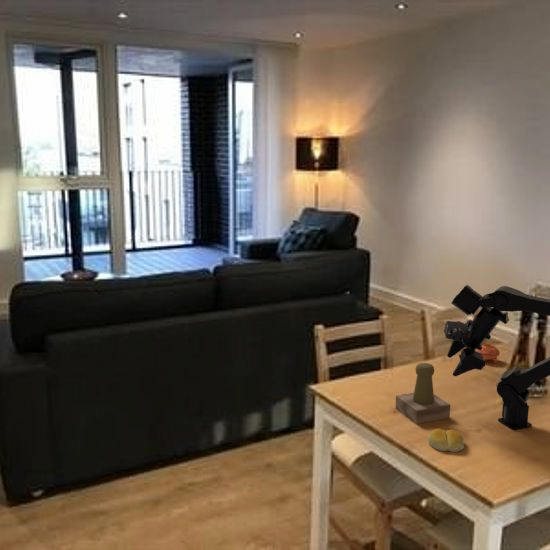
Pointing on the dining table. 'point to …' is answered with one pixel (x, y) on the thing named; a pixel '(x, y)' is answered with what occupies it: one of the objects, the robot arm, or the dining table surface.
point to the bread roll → (446, 440)
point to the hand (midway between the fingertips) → (451, 366)
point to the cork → (424, 384)
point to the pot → (489, 352)
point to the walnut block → (422, 409)
